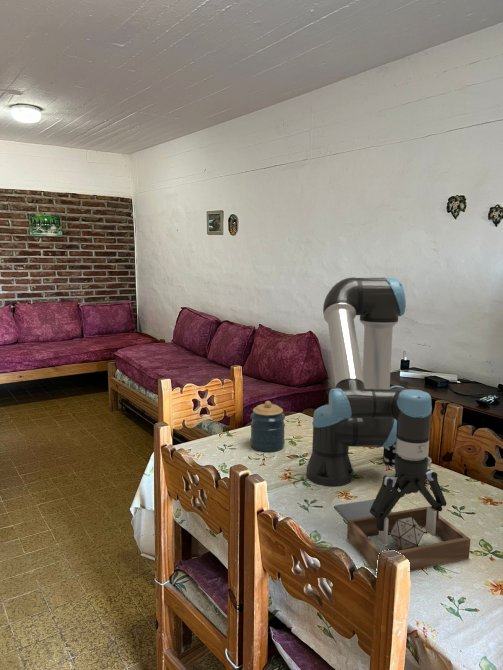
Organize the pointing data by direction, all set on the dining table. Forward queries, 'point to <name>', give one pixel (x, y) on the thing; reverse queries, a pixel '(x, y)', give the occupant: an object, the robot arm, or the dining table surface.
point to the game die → (406, 533)
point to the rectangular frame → (419, 557)
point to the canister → (267, 428)
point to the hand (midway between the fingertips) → (407, 537)
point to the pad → (355, 509)
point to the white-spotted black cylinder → (389, 455)
